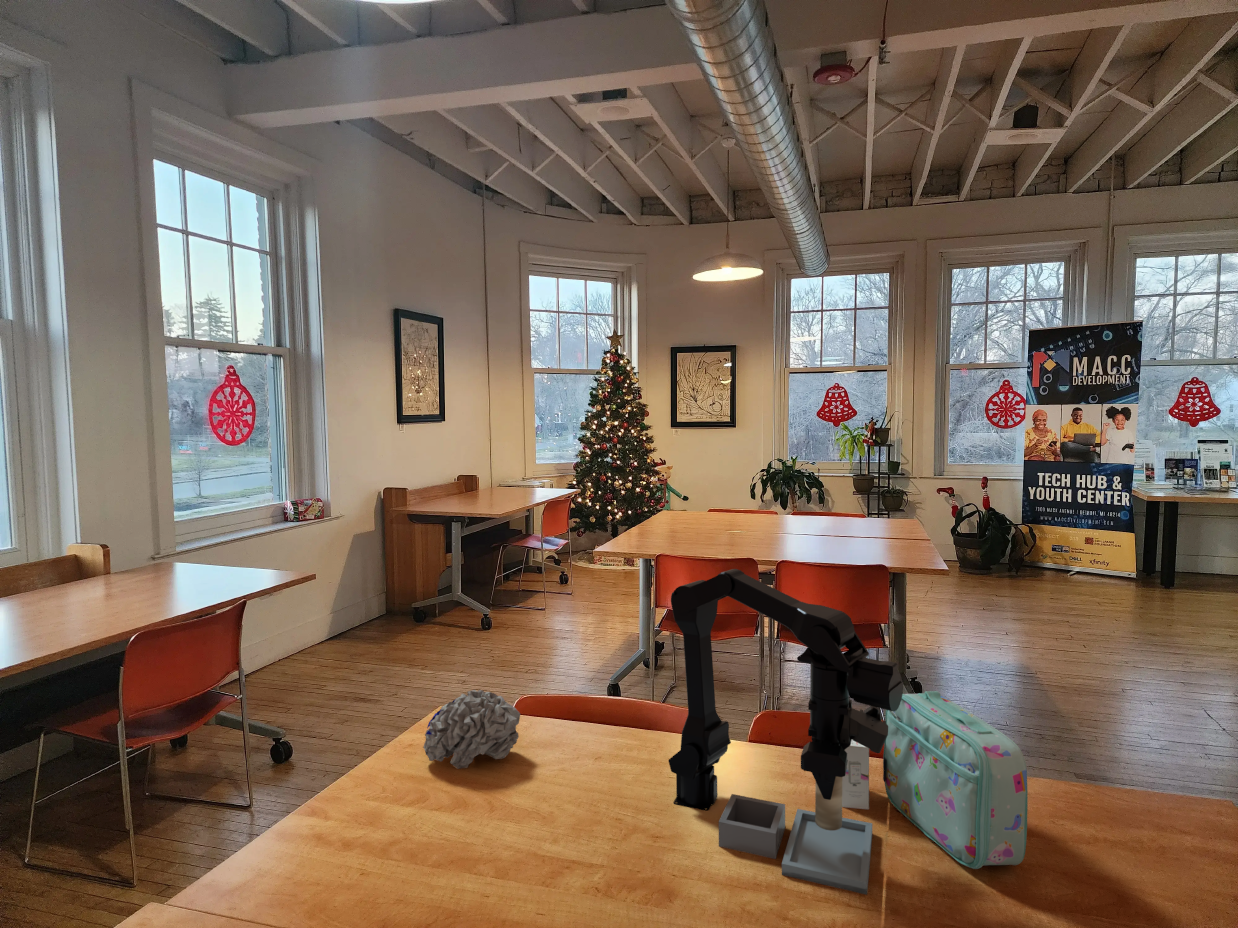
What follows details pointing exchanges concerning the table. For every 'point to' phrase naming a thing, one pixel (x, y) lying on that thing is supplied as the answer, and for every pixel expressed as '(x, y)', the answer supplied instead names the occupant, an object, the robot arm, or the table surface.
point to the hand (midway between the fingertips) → (828, 791)
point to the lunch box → (957, 780)
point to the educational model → (472, 729)
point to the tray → (829, 853)
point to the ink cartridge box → (856, 777)
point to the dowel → (829, 807)
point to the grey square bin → (752, 826)
